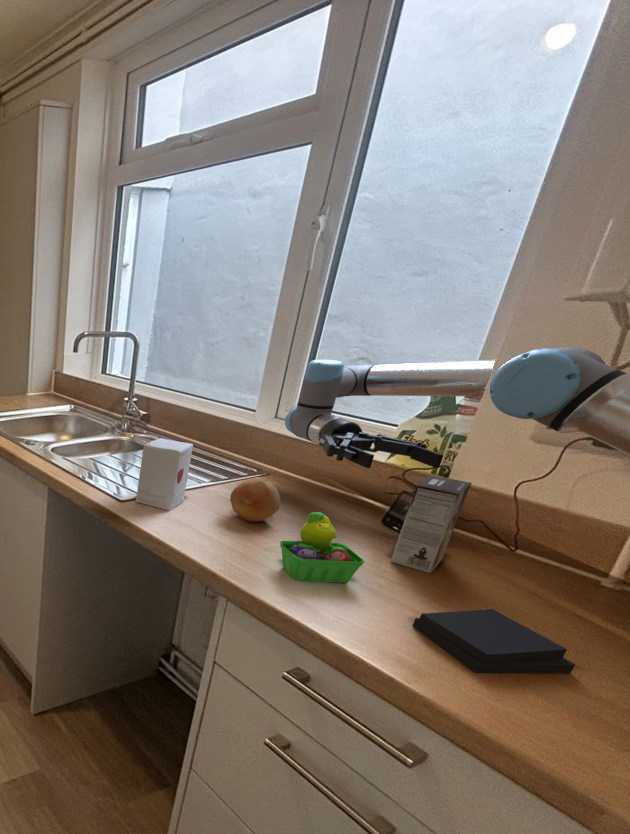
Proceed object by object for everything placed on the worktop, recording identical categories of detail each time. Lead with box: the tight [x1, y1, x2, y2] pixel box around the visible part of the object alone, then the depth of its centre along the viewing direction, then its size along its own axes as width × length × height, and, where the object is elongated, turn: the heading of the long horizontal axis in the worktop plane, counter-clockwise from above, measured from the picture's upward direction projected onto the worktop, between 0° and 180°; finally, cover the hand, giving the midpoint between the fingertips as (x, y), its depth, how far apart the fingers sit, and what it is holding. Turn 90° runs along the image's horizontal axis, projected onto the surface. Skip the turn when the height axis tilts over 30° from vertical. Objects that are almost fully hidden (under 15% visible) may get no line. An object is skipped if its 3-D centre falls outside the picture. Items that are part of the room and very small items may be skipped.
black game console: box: [412, 608, 576, 674], centre depth 77 cm, size 13×11×3 cm
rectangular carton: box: [135, 437, 194, 512], centre depth 129 cm, size 9×9×15 cm
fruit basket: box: [279, 511, 366, 584], centre depth 96 cm, size 11×9×11 cm
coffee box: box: [390, 474, 473, 574], centre depth 99 cm, size 9×6×16 cm
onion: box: [229, 476, 281, 523], centre depth 119 cm, size 10×10×10 cm
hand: (405, 461), depth 105 cm, fingers open, 13 cm apart
